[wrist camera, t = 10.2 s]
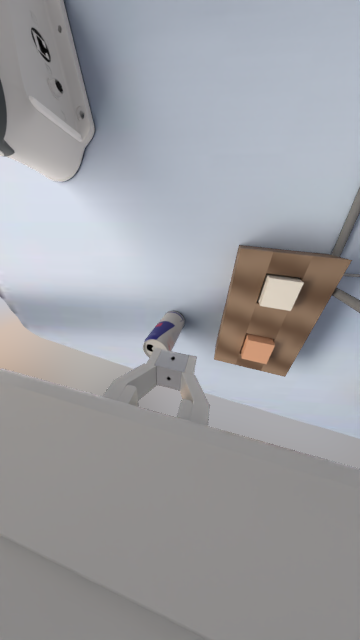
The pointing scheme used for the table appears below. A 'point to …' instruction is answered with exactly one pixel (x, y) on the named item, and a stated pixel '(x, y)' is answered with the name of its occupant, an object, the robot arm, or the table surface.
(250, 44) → the table surface
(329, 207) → the table surface
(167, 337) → the energy drink
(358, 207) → the newton's cradle
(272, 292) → the cream key
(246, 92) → the table surface
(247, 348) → the terracotta key
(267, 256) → the key console
